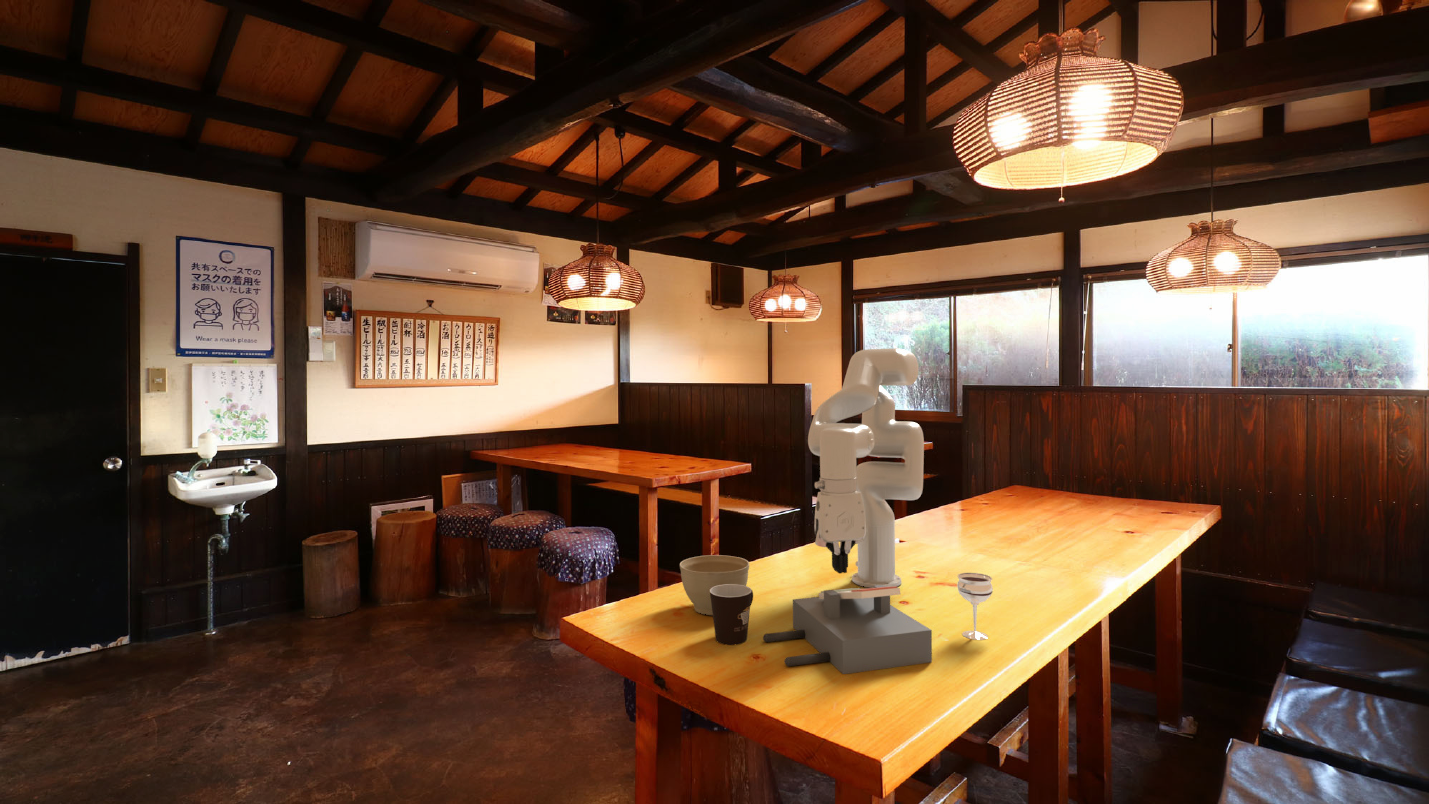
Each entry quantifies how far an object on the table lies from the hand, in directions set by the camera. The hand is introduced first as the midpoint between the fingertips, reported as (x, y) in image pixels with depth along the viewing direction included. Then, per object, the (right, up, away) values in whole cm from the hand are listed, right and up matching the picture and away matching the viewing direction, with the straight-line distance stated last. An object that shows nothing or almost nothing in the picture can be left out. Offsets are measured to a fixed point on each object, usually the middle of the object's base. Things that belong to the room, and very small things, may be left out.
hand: (840, 571), depth 139 cm
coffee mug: (-22, -13, -4) cm, 26 cm away
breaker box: (-2, -12, -9) cm, 16 cm away
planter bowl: (-27, -13, +13) cm, 32 cm away
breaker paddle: (+2, -2, -8) cm, 9 cm away
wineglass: (+27, -12, -5) cm, 30 cm away
